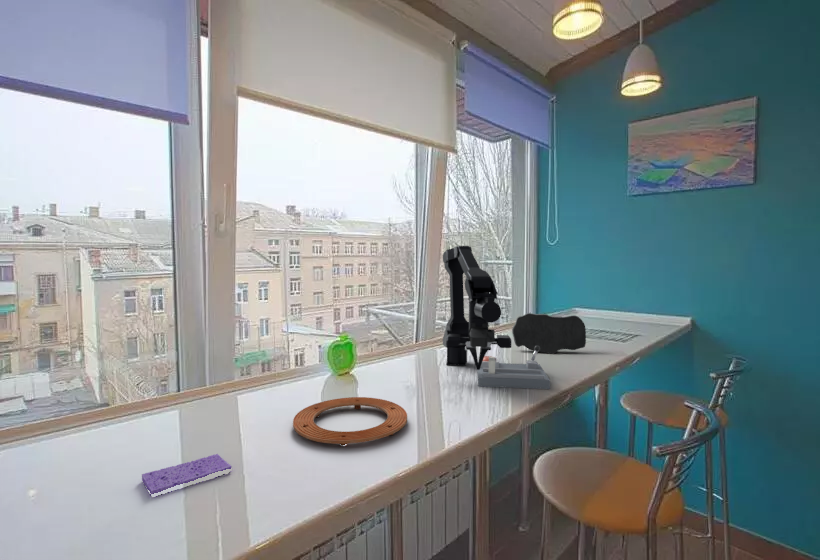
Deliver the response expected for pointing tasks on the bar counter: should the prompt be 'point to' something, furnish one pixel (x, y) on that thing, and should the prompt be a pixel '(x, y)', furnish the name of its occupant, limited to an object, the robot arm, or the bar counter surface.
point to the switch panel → (513, 375)
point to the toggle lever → (535, 352)
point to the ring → (311, 431)
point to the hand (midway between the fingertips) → (478, 369)
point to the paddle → (491, 365)
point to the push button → (486, 358)
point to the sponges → (183, 473)
